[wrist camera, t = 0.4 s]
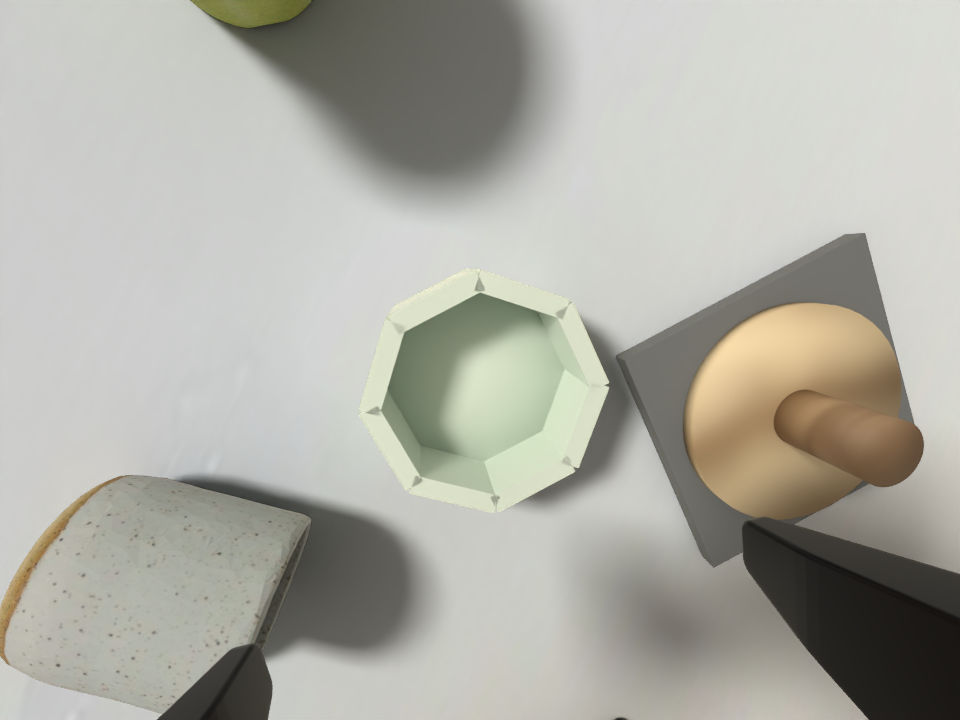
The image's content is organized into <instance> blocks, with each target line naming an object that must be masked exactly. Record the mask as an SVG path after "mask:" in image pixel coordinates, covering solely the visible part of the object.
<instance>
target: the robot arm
mask: <svg viewBox="0 0 960 720" xmlns="http://www.w3.org/2000/svg"><path fill="white" fill-rule="evenodd" d="M741 530H742V547H743V560H744V564H745V566H746V568H747V570H748V572H749V573H750V575H751V576H752V577H753V579H754V580H755V581H756V583H757V584H758V585H759V587H760V588H761V589H762V591H763V592H764V593H765V595H766V596H767V597H768V599H769V600H770V601H771V603H772V604H773V605H774V607H775V608H776V609H777V611H778V612H779V613H780V615H781V616H782V617H783V619H784V620H785V621H786V623H787V624H788V625H789V627H790V628H791V629H792V631H793V632H794V633H795V635H796V636H797V637H798V639H799V640H800V641H801V642H802V644H803V645H804V646H805V647H806V649H807V650H808V651H809V652H810V653H811V655H812V656H813V657H814V658H815V659H816V660H817V662H818V663H819V664H820V665H821V666H822V667H823V668H824V670H825V671H826V672H827V673H828V674H829V675H830V676H831V677H832V679H833V680H834V681H835V682H836V683H837V684H838V685H839V686H840V688H841V689H842V690H843V691H844V692H845V693H846V694H847V695H848V697H849V698H850V699H851V700H852V701H853V702H854V703H855V704H856V706H857V707H858V708H859V709H860V710H861V711H862V712H863V713H864V715H865V716H866V717H867V718H868V719H869V720H960V574H958V573H954V572H951V571H948V570H944V569H941V568H938V567H934V566H931V565H927V564H924V563H921V562H917V561H914V560H911V559H907V558H904V557H900V556H897V555H894V554H890V553H887V552H884V551H880V550H877V549H874V548H870V547H867V546H863V545H860V544H857V543H853V542H850V541H847V540H843V539H840V538H836V537H833V536H830V535H826V534H823V533H820V532H816V531H813V530H810V529H806V528H803V527H799V526H796V525H793V524H789V523H786V522H783V521H779V520H776V519H772V518H769V517H758V518H754V519H750V520H746V521H745V522H743V524H742V529H741ZM271 699H272V680H271V677H270V674H269V671H268V668H267V665H266V662H265V659H264V656H263V653H262V650H261V648H260V646H259V645H258V644H256V643H250V644H246V645H242V646H238V647H234V648H232V649H230V650H229V651H228V652H227V653H226V654H225V655H224V656H223V657H222V658H221V659H220V660H219V661H217V662H216V663H215V664H214V665H213V666H212V667H211V668H210V669H209V670H208V671H207V672H206V673H205V674H204V675H203V676H202V677H201V678H200V679H199V680H198V681H197V682H196V683H195V684H194V685H193V686H191V687H190V688H189V689H188V690H187V691H186V692H185V693H184V694H183V695H182V696H181V697H180V698H179V699H178V700H177V701H176V702H175V703H174V704H173V705H172V706H171V707H170V708H169V709H168V710H166V711H165V712H164V713H163V714H162V715H161V716H160V717H159V718H158V719H157V720H268V716H269V710H270V705H271Z"/></svg>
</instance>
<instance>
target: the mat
mask: <svg viewBox="0 0 960 720" xmlns="http://www.w3.org/2000/svg"><path fill="white" fill-rule="evenodd" d="M792 302H810V303H820V304H829V305H837V306H840V307H844V308H847V309H850V310H852V311H855V312H857V313H859V314H861V315H862V316H864V317H865V318H867V319H868V320H870V321H871V322H872V323H873V324H874V325H875V326H876V327H877V328H878V329H879V330H880V331H881V332H882V333H883V334H884V336H885V337H886V339H887V340H888V341H889V343H890V345H891V347H892V349H893V351H894V353H895V356H896V359H897V355H896V351H895V347H894V343H893V340H892V336H891V332H890V328H889V324H888V320H887V316H886V312H885V309H884V305H883V301H882V297H881V293H880V289H879V285H878V282H877V278H876V274H875V270H874V266H873V262H872V258H871V255H870V251H869V247H868V243H867V239H866V235H865V233H858V234H845V235H843V236H842V237H840V238H838V239H836V240H834V241H832V242H830V243H828V244H826V245H825V246H823V247H821V248H819V249H817V250H815V251H813V252H811V253H809V254H808V255H806V256H804V257H802V258H800V259H798V260H796V261H794V262H792V263H791V264H789V265H787V266H785V267H783V268H781V269H779V270H777V271H775V272H774V273H772V274H770V275H768V276H766V277H764V278H762V279H760V280H758V281H757V282H755V283H753V284H751V285H749V286H747V287H745V288H743V289H741V290H740V291H738V292H736V293H734V294H732V295H730V296H728V297H726V298H724V299H723V300H721V301H719V302H717V303H715V304H713V305H711V306H709V307H707V308H706V309H704V310H702V311H700V312H698V313H696V314H694V315H692V316H690V317H689V318H687V319H685V320H683V321H681V322H679V323H677V324H675V325H673V326H672V327H670V328H668V329H666V330H664V331H662V332H660V333H658V334H656V335H655V336H653V337H651V338H649V339H647V340H645V341H643V342H641V343H639V344H638V345H636V346H634V347H632V348H630V349H628V350H626V351H624V352H622V353H621V354H619V355H617V356H616V358H617V360H618V363H619V365H620V367H621V370H622V372H623V374H624V377H625V379H626V381H627V384H628V386H629V388H630V390H631V393H632V395H633V397H634V400H635V402H636V404H637V407H638V409H639V411H640V413H641V416H642V418H643V420H644V423H645V425H646V427H647V430H648V432H649V434H650V436H651V439H652V441H653V443H654V446H655V448H656V450H657V453H658V455H659V457H660V460H661V462H662V464H663V466H664V469H665V471H666V473H667V476H668V478H669V480H670V483H671V485H672V487H673V489H674V492H675V494H676V496H677V499H678V501H679V503H680V506H681V508H682V510H683V512H684V515H685V517H686V519H687V522H688V524H689V526H690V529H691V531H692V533H693V536H694V538H695V540H696V542H697V545H698V547H699V549H700V552H701V554H702V556H703V557H704V558H705V559H706V560H707V561H708V562H709V563H710V564H711V565H712V566H713V568H714V567H716V566H718V565H720V564H721V563H723V562H725V561H727V560H729V559H731V558H732V557H734V556H736V555H738V554H740V553H742V552H743V547H742V530H741V529H742V524H743V522H745V521H746V520H750V519H754V518H757V517H753V516H750V515H747V514H744V513H742V512H740V511H738V510H736V509H734V508H732V507H731V506H729V505H728V504H727V503H725V502H724V501H723V500H721V499H720V498H719V497H717V496H716V495H715V494H714V493H712V492H711V491H710V490H709V489H708V488H707V487H706V486H705V485H704V484H703V483H702V482H701V480H700V479H699V478H698V476H697V475H696V473H695V472H694V470H693V468H692V466H691V464H690V462H689V459H688V456H687V453H686V449H685V444H684V438H683V415H684V407H685V402H686V398H687V394H688V391H689V388H690V385H691V382H692V380H693V378H694V376H695V374H696V372H697V370H698V368H699V366H700V365H701V363H702V361H703V360H704V358H705V357H706V355H707V354H708V353H709V351H710V350H711V349H712V348H713V346H714V345H715V344H716V343H717V342H718V341H719V340H720V339H721V338H722V337H723V336H724V335H725V334H726V333H727V332H728V331H729V330H731V329H732V328H733V327H734V326H736V325H737V324H738V323H740V322H741V321H743V320H745V319H746V318H748V317H749V316H751V315H753V314H755V313H757V312H760V311H762V310H764V309H767V308H770V307H773V306H776V305H780V304H786V303H792ZM897 362H898V359H897ZM898 366H899V363H898ZM899 371H900V376H901V403H900V409H899V415H898V418H899V419H902V420H905V421H908V422H911V423H913V424H914V421H913V417H912V413H911V409H910V405H909V401H908V397H907V394H906V390H905V386H904V382H903V378H902V374H901V370H900V367H899ZM914 425H915V424H914ZM867 484H869V483H868V482H866V481H864V480H863V481H862V482H861V483H859V484H858V485H857V486H856V487H855V488H854V489H853V490H852V491H851V492H849V493H848V494H847V495H849V494H850V493H852V492H854V491H856V490H858V489H860V488H862V487H863V486H865V485H867ZM847 495H845V496H847ZM845 496H844V497H845ZM812 514H814V513H812ZM812 514H809V515H806V516H802V517H797V518H793V519H783V520H779V521H783V522H786V523H789V524H795V523H797V522H799V521H801V520H803V519H804V518H806V517H808V516H810V515H812Z"/></svg>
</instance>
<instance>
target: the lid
mask: <svg viewBox="0 0 960 720" xmlns="http://www.w3.org/2000/svg"><path fill="white" fill-rule="evenodd" d="M900 403H901V376H900V371H899V366H898V362H897V359H896V356H895V353H894V351H893V349H892V347H891V345H890V343H889V341H888V340H887V339H886V337H885V336H884V334H883V333H882V332H881V331H880V330H879V329H878V328H877V327H876V326H875V325H874V324H873V323H872V322H871V321H870V320H868V319H867V318H865V317H864V316H862V315H861V314H859V313H857V312H855V311H852V310H850V309H847V308H844V307H840V306H837V305H829V304H820V303H810V302H792V303H786V304H780V305H776V306H773V307H770V308H767V309H764V310H762V311H760V312H757V313H755V314H753V315H751V316H749V317H748V318H746V319H745V320H743V321H741V322H740V323H738V324H737V325H736V326H734V327H733V328H732V329H731V330H729V331H728V332H727V333H726V334H725V335H724V336H723V337H722V338H721V339H720V340H719V341H718V342H717V343H716V344H715V345H714V346H713V348H712V349H711V350H710V351H709V353H708V354H707V355H706V357H705V358H704V360H703V361H702V363H701V365H700V366H699V368H698V370H697V372H696V374H695V376H694V378H693V380H692V382H691V385H690V388H689V391H688V394H687V398H686V402H685V407H684V415H683V438H684V444H685V449H686V453H687V456H688V459H689V462H690V464H691V466H692V468H693V470H694V472H695V473H696V475H697V476H698V478H699V479H700V480H701V482H702V483H703V484H704V485H705V486H706V487H707V488H708V489H709V490H710V491H711V492H712V493H714V494H715V495H716V496H717V497H719V498H720V499H721V500H723V501H724V502H725V503H727V504H728V505H729V506H731V507H732V508H734V509H736V510H738V511H740V512H742V513H744V514H747V515H750V516H753V517H757V518H758V517H769V518H772V519H776V520H783V519H793V518H797V517H802V516H806V515H809V514H812V513H815V512H817V511H820V510H822V509H824V508H826V507H828V506H830V505H832V504H833V503H835V502H836V501H838V500H840V499H841V498H843V497H844V496H845V495H847V494H848V493H849V492H851V491H852V490H853V489H854V488H855V487H856V486H857V485H858V484H859V483H861V482H862V481H863V480H864V481H866V482H868V483H870V484H872V485H874V486H878V487H889V486H893V485H896V484H898V483H900V482H902V481H903V480H905V479H906V478H907V477H908V476H910V475H911V474H912V472H913V471H914V470H915V469H916V467H917V466H918V464H919V462H920V460H921V457H922V454H923V448H924V441H923V436H922V434H921V432H920V430H919V429H918V427H917V426H915V425H914V424H913V423H911V422H908V421H905V420H902V419H899V418H898V415H899V409H900Z"/></svg>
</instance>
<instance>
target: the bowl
mask: <svg viewBox="0 0 960 720" xmlns="http://www.w3.org/2000/svg"><path fill="white" fill-rule="evenodd" d="M569 301H570V299H567V298H564V297H561V296H558V295H555V294H552V293H549V292H547V291H544V290H541V289H538V288H535V287H532V286H529V285H526V284H523V283H520V282H517V281H514V280H511V279H508V278H505V277H502V276H499V275H496V274H493V273H490V272H487V271H484V270H481V269H470V268H469V269H464V270H462V271H460V272H458V273H456V274H454V275H452V276H450V277H448V278H446V279H444V280H443V281H441V282H439V283H437V284H435V285H433V286H431V287H429V288H427V289H425V290H423V291H421V292H420V293H418V294H416V295H414V296H412V297H410V298H408V299H406V300H404V301H402V302H400V303H398V304H397V305H395V306H394V307H393V308H392V309H391V310H390V312H389V314H388V315H387V317H386V318H385V320H384V324H383V327H382V331H381V334H380V338H379V341H378V344H377V348H376V351H375V355H374V358H373V362H372V365H371V369H370V372H369V375H368V379H367V382H366V386H365V389H364V393H363V396H362V400H361V403H360V407H359V410H358V411H361V412H360V414H359V416H360V418H361V420H362V421H363V423H364V425H365V426H366V428H367V429H368V431H369V433H370V434H371V436H372V438H373V439H374V441H375V442H376V444H377V446H378V447H379V449H380V451H381V452H382V454H383V455H384V457H385V459H386V460H387V462H388V464H389V465H390V467H391V468H392V470H393V472H394V473H395V475H396V476H397V478H398V480H399V481H400V483H401V485H402V486H403V488H404V489H405V491H407V490H408V489H410V491H409V494H413V495H417V496H421V497H426V498H430V499H434V500H439V501H443V502H447V503H452V504H456V505H460V506H465V507H469V508H473V509H478V510H482V511H486V512H490V513H494V512H495V509H497V510H498V512H501V511H503V510H505V509H507V508H508V507H510V506H512V505H514V504H516V503H518V502H520V501H522V500H523V499H525V498H527V497H529V496H531V495H533V494H535V493H537V492H538V491H540V490H542V489H544V488H546V487H548V486H550V485H552V484H553V483H555V482H557V481H559V480H561V479H563V478H565V477H567V476H568V475H570V474H572V473H574V472H575V470H574V468H573V467H576V468H579V466H580V463H581V461H582V458H583V456H584V453H585V450H586V448H587V445H588V442H589V440H590V437H591V435H592V432H593V429H594V427H595V424H596V421H597V419H598V416H599V414H600V411H601V408H602V406H603V403H604V401H605V398H606V395H607V393H608V390H609V387H608V386H606V384H608V383H609V381H608V379H607V376H606V374H605V372H604V370H603V367H602V365H601V363H600V361H599V358H598V356H597V354H596V352H595V349H594V347H593V345H592V343H591V340H590V338H589V336H588V334H587V331H586V329H585V327H584V325H583V322H582V320H581V318H580V316H579V313H578V311H577V309H576V307H575V305H574V303H573V302H569Z"/></svg>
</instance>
